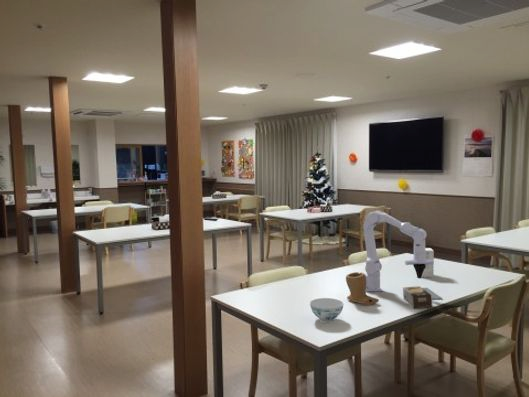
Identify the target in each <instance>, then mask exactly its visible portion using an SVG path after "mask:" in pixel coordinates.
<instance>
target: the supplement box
mask: <svg viewBox="0 0 529 397" xmlns="http://www.w3.org/2000/svg"><path fill="white" fill-rule="evenodd" d="M434 254H435V252H434V249H432V248H431V247H425V260H433V261H434V260H435V259H434V257H435V256H434ZM434 262H435V261H434ZM425 265H426V268H425V269H424V271H423V274H422V277H421V278H434V275H435V274H434V271H435V270H434V265H435V263H434V264H425Z"/></svg>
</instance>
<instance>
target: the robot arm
mask: <svg viewBox="0 0 529 397" xmlns="http://www.w3.org/2000/svg"><path fill="white" fill-rule="evenodd" d="M378 223H388V224H389V225H392V226H394V227H397V228H398V229H399V231H400V232H401V233H403V234H405V235H406V236H409V237H411V238H412V239H413V259H410V260H404V265H406V266H409V265H410V266H411V265H412V266H413V268H414V271H415V274H416V278H417V279H422V278H423V277H422V274H423V271H424V269H425V268H426V265H425V264H434V265H435V263H434V262H435V261H433V260H425V248H426V238H427V236H428V235H427V231H425V229H423V228H419V227H418V226H414V225H413V224H411V222H410V221H405V222H402V221H400V220H398V219H397V218H395V217H393V216H391V215H390V214H388V213H387V212H384V211H381V210H375V211H371V212H369V213H368V214H367V215H366V216H365V221H364V222H363V225H362V226H363V228H362V229H363V235H364V242H365V249H366V250H365V251H366V255H367V257H366V261H365V267H364V270H365V272H366V273H364V274H365V276H366V292H383V289H382V288H381V272H380V271H381V270H382V267H383V266H382V263H381V261H380V258H379V257H378V253H377V246H376V239H375V230H374V228H375V227H376V226H377V225H378Z"/></svg>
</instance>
